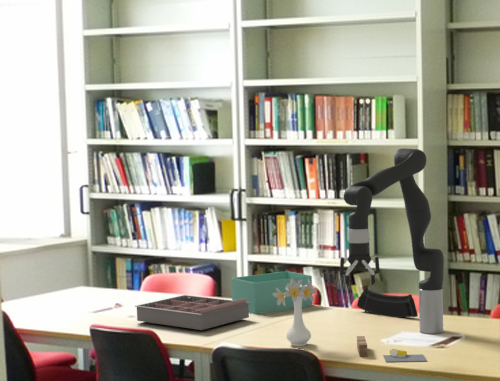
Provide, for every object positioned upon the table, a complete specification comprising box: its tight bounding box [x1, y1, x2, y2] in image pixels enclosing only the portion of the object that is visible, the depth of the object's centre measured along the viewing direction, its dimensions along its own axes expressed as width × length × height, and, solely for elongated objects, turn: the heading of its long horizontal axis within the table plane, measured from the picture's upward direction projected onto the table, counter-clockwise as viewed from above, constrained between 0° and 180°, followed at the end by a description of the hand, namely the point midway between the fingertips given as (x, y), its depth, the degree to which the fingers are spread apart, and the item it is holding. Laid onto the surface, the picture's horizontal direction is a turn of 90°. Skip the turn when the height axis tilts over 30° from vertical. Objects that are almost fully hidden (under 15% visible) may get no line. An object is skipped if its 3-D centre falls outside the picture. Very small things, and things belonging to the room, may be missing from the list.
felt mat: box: [383, 353, 428, 363], centre depth 304 cm, size 9×14×1 cm, turn 87°
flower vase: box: [272, 279, 318, 347], centre depth 330 cm, size 13×18×25 cm
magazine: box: [356, 287, 419, 318], centre depth 382 cm, size 17×3×30 cm
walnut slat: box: [356, 335, 368, 358], centre depth 316 cm, size 14×3×4 cm, turn 176°
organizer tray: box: [134, 294, 250, 331], centre depth 381 cm, size 32×40×10 cm
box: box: [231, 270, 313, 315], centre depth 411 cm, size 21×32×14 cm, turn 121°
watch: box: [388, 348, 408, 357], centre depth 309 cm, size 6×3×6 cm
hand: (360, 285), depth 317 cm, fingers open, 8 cm apart
